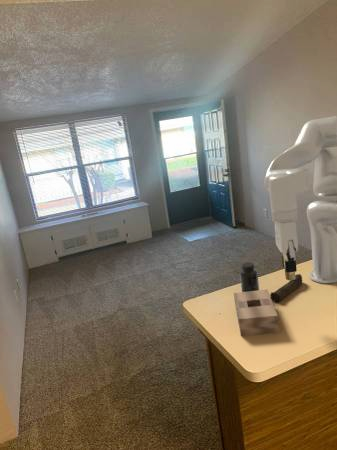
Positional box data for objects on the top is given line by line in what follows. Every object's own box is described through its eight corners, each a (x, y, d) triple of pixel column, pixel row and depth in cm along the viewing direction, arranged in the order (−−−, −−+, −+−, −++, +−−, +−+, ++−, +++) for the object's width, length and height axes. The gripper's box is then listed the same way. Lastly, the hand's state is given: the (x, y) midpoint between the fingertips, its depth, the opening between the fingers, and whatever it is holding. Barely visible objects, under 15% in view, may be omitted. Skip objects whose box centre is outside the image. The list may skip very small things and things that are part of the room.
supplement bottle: (238, 293, 133) (235, 266, 130) (248, 286, 137) (245, 260, 134) (253, 297, 128) (249, 269, 125) (263, 290, 132) (259, 262, 129)
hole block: (268, 304, 121) (267, 289, 120) (279, 332, 104) (277, 315, 102) (235, 307, 123) (233, 293, 121) (240, 335, 106) (238, 319, 104)
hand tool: (279, 304, 120) (278, 292, 119) (270, 301, 124) (269, 289, 122) (308, 284, 131) (307, 274, 130) (299, 282, 134) (298, 271, 133)
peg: (294, 275, 108) (291, 247, 105) (296, 279, 105) (293, 250, 102) (284, 276, 108) (281, 248, 106) (286, 280, 105) (283, 251, 103)
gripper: (267, 210, 109) (272, 261, 114) (277, 223, 94) (283, 282, 98) (290, 206, 108) (295, 258, 113) (305, 219, 93) (309, 279, 97)
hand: (289, 268), depth 106 cm, fingers closed on peg, 3 cm apart
